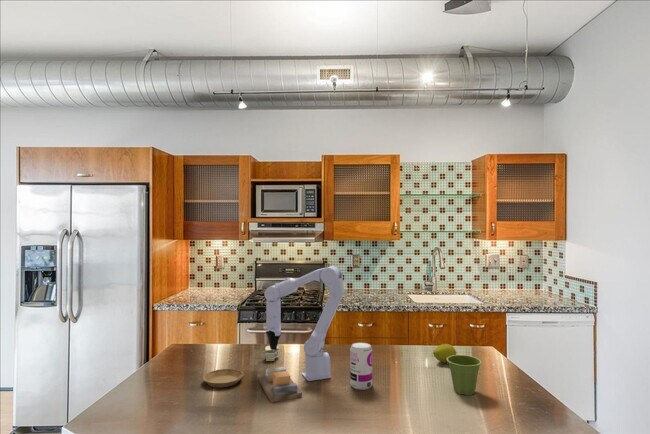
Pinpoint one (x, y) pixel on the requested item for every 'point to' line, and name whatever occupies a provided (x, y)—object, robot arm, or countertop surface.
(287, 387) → the flat wooden platform
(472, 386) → the plant pot
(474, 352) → the countertop surface
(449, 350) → the lemon
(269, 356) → the stacked layers on plate
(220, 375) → the plant saucer
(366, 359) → the supplement can
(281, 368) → the grey rectangular block
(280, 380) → the light brown cube
